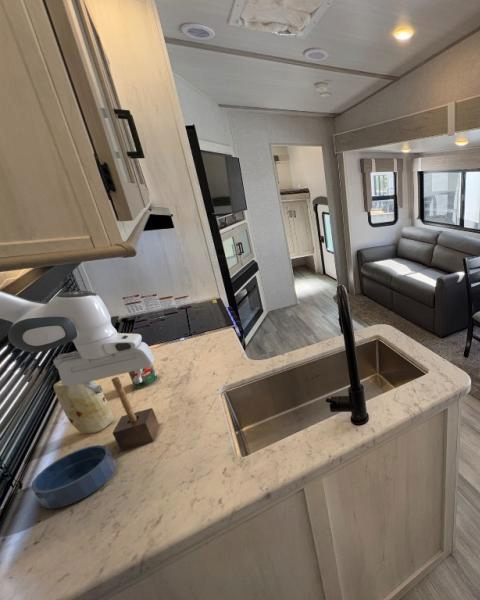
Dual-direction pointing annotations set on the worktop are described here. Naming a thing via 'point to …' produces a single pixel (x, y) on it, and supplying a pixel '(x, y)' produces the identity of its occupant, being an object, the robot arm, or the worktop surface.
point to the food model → (84, 407)
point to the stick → (124, 399)
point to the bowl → (74, 476)
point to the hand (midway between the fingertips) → (119, 387)
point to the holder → (136, 429)
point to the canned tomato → (145, 377)
